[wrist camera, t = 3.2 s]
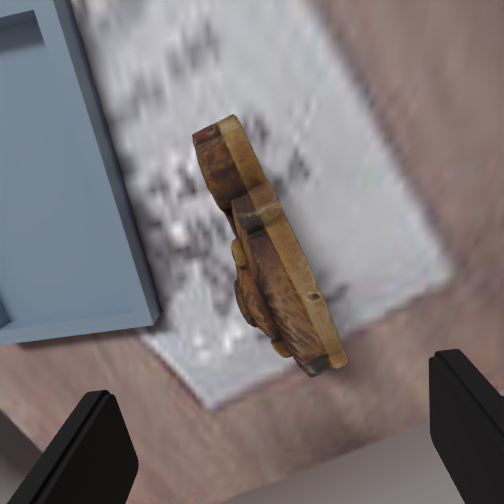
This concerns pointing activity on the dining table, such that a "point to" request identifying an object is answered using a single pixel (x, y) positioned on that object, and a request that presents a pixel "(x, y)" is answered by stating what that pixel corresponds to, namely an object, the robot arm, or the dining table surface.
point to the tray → (61, 190)
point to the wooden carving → (267, 253)
